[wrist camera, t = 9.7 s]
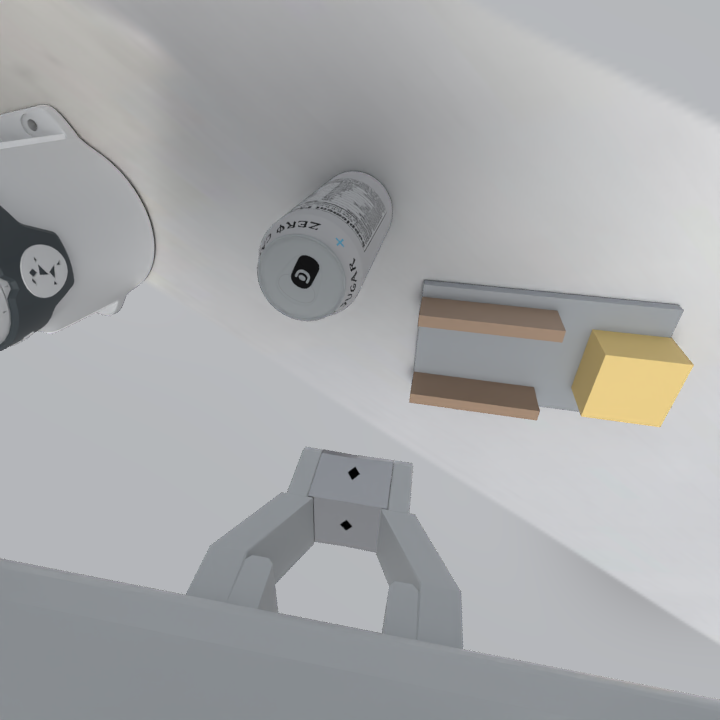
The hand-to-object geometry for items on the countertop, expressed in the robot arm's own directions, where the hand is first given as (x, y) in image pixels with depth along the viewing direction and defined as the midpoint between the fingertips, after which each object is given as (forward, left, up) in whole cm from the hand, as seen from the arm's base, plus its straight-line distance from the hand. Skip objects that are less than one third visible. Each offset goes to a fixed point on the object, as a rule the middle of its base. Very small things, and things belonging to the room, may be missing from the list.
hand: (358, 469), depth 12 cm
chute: (+11, -11, -27) cm, 31 cm away
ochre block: (+18, -11, -26) cm, 33 cm away
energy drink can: (-5, 0, -27) cm, 28 cm away
